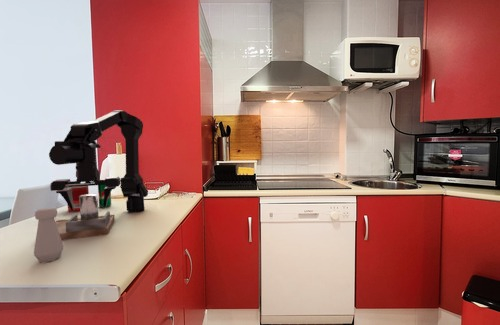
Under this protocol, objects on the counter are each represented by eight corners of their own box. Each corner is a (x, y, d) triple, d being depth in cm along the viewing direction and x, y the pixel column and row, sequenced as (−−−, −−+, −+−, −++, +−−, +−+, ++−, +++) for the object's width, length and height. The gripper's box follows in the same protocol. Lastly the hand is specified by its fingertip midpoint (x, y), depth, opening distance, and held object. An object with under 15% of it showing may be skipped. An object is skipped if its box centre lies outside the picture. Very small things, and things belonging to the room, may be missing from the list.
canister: (100, 221, 86) (98, 193, 86) (97, 226, 82) (95, 196, 81) (83, 223, 85) (81, 194, 84) (79, 228, 80) (77, 197, 79)
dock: (114, 220, 95) (114, 207, 94) (108, 234, 80) (107, 219, 80) (57, 226, 88) (56, 212, 88) (38, 242, 73) (37, 226, 73)
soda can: (113, 205, 119) (112, 180, 118) (106, 207, 114) (105, 181, 113) (103, 204, 119) (102, 180, 118) (96, 207, 114) (94, 181, 113)
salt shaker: (46, 254, 66) (42, 206, 65) (69, 253, 66) (65, 205, 65) (28, 265, 60) (24, 212, 59) (53, 263, 60) (50, 211, 59)
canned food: (93, 208, 113) (92, 184, 113) (76, 212, 106) (74, 187, 105) (81, 206, 116) (79, 183, 115) (63, 211, 108) (62, 186, 107)
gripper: (121, 159, 93) (123, 201, 94) (60, 161, 86) (63, 206, 87) (117, 161, 82) (119, 208, 83) (48, 164, 75) (51, 214, 77)
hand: (89, 208), depth 83 cm, fingers open, 9 cm apart
